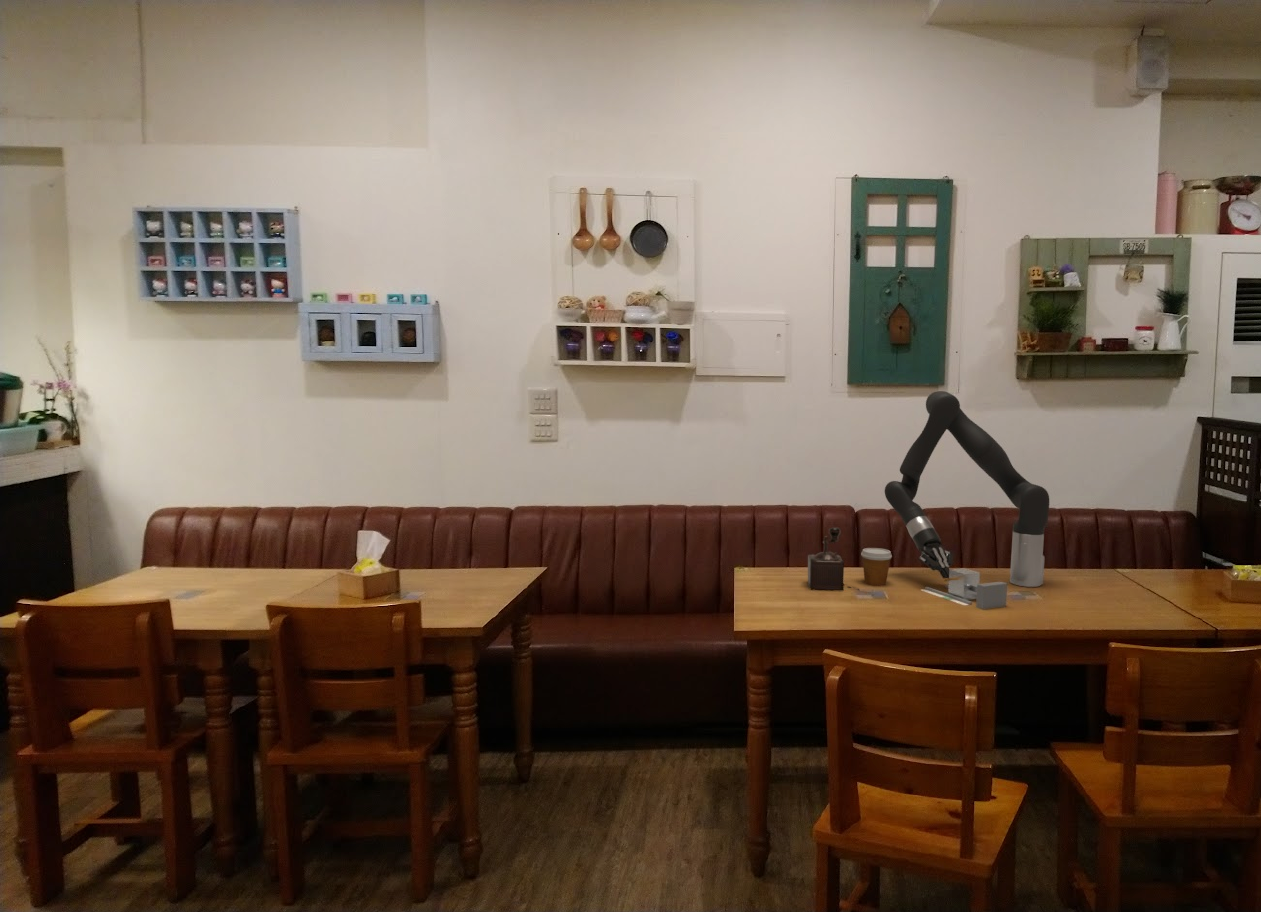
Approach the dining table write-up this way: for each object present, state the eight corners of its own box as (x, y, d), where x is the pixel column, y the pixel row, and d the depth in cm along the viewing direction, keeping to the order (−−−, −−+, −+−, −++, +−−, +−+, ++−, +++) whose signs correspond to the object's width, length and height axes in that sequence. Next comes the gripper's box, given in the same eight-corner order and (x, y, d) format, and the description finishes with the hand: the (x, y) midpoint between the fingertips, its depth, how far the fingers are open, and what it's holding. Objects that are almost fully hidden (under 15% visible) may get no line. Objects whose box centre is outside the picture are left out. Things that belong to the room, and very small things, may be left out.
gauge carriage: (963, 593, 246) (964, 568, 245) (991, 603, 236) (993, 576, 235) (935, 597, 242) (936, 571, 241) (963, 606, 232) (964, 579, 231)
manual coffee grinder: (845, 591, 253) (848, 535, 252) (810, 589, 255) (812, 534, 253) (838, 579, 269) (840, 526, 267) (804, 577, 270) (806, 525, 268)
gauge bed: (950, 589, 256) (952, 564, 255) (1012, 610, 234) (1014, 582, 233) (916, 593, 251) (917, 568, 250) (976, 615, 229) (977, 587, 228)
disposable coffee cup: (892, 592, 253) (893, 554, 252) (861, 590, 255) (862, 553, 253) (888, 584, 262) (890, 548, 261) (858, 582, 264) (860, 546, 263)
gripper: (913, 528, 252) (940, 575, 242) (945, 525, 257) (973, 571, 247) (900, 541, 257) (926, 588, 247) (932, 538, 262) (959, 584, 252)
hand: (949, 579), depth 247 cm, fingers closed
